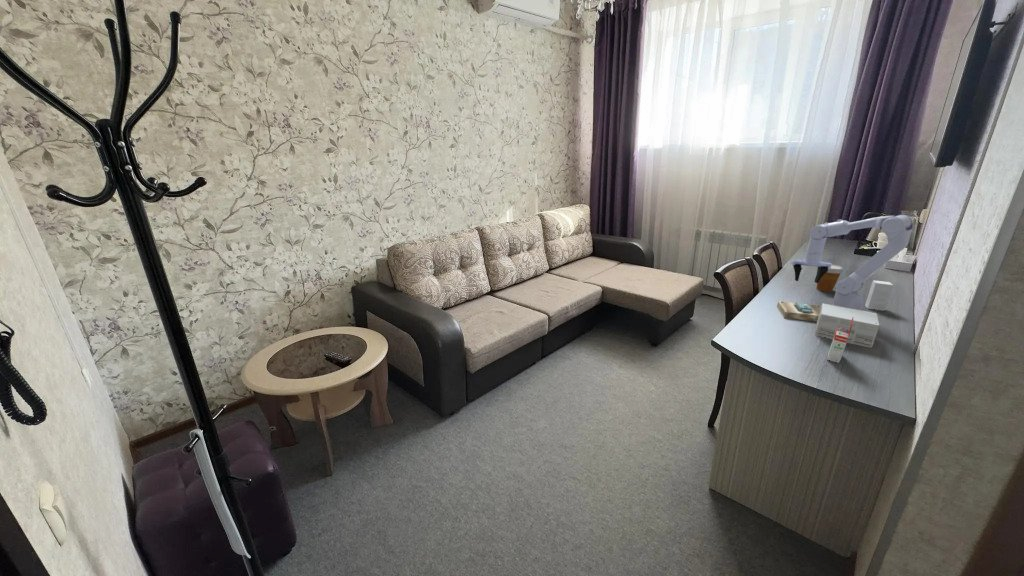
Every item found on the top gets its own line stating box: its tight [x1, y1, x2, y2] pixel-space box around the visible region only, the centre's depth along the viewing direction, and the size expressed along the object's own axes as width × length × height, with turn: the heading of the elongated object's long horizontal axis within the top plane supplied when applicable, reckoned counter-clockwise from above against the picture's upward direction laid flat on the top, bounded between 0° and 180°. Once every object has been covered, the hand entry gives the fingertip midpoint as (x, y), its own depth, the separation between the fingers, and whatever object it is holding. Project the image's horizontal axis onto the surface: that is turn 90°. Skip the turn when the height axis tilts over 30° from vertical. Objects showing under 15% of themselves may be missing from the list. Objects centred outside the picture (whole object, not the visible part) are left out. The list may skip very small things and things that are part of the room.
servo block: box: [795, 301, 812, 313], centre depth 173 cm, size 4×9×5 cm, turn 161°
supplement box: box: [814, 302, 880, 349], centre depth 155 cm, size 17×13×9 cm
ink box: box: [826, 318, 853, 364], centre depth 138 cm, size 4×8×15 cm, turn 140°
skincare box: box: [864, 279, 894, 311], centre depth 178 cm, size 6×4×12 cm
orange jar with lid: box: [816, 263, 844, 293], centre depth 198 cm, size 10×10×12 cm
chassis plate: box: [776, 300, 822, 322], centre depth 173 cm, size 16×12×3 cm
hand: (806, 281), depth 184 cm, fingers open, 7 cm apart
